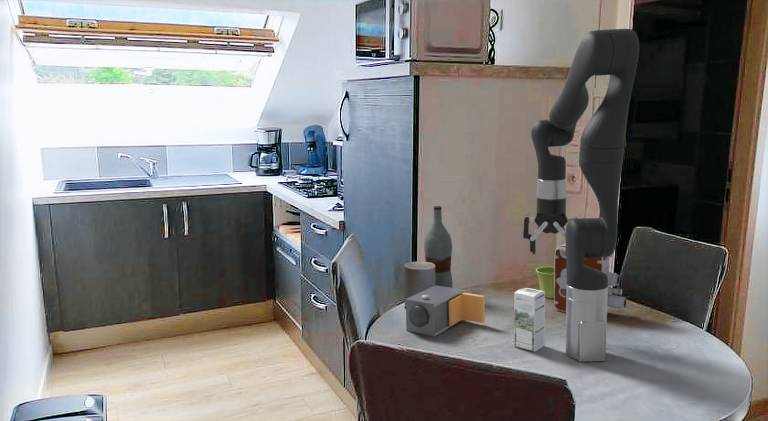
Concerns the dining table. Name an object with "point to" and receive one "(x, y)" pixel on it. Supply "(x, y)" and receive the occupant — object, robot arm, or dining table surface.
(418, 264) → the pillar candle
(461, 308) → the orange l-shaped bracket
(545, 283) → the plant pot
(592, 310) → the robot arm
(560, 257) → the cine camera
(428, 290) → the block
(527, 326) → the syrup box
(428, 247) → the bottle
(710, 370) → the dining table surface
